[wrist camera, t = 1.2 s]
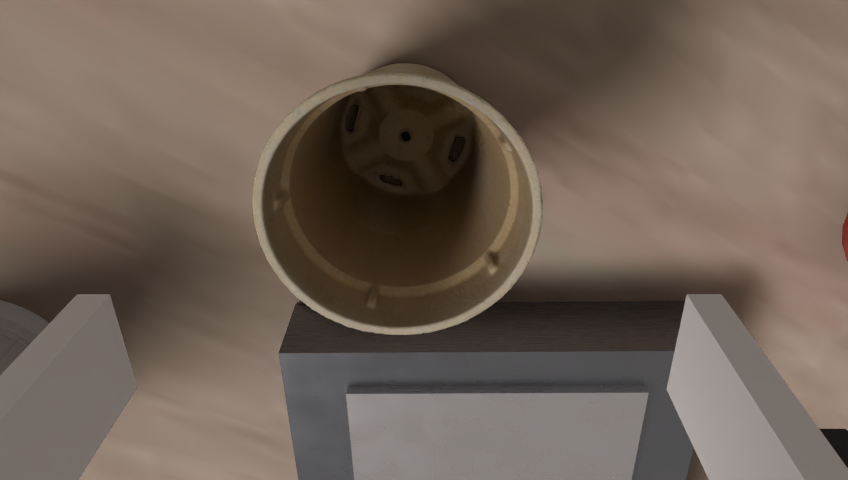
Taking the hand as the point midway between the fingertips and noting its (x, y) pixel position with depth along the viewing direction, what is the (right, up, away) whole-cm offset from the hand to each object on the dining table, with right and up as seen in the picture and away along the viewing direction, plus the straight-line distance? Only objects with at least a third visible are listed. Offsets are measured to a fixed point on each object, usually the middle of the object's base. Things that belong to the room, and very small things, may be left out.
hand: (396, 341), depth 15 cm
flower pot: (0, +7, +13) cm, 15 cm away
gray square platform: (+4, -9, +22) cm, 24 cm away
